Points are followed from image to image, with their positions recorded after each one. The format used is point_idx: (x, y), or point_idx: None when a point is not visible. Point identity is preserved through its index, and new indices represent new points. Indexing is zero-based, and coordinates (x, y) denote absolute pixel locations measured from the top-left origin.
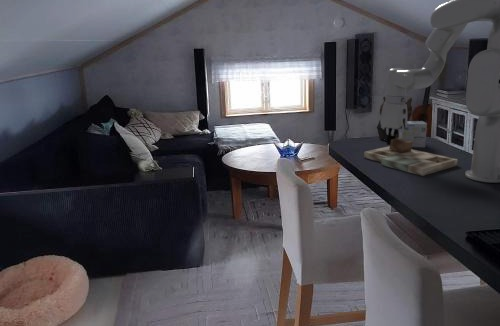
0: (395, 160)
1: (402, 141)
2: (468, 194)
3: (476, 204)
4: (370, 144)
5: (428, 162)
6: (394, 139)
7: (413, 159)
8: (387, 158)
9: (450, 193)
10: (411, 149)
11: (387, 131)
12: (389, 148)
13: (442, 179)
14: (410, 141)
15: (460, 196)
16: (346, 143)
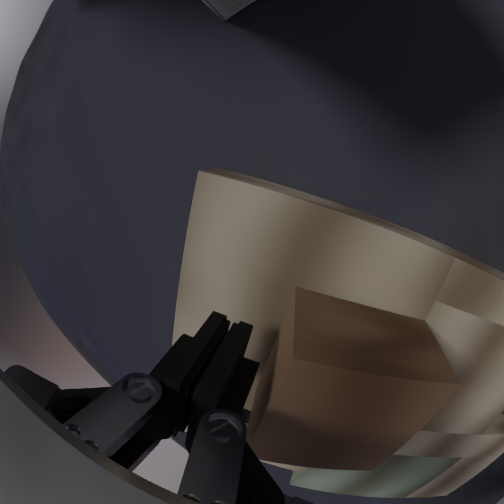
0: (353, 487)
1: (355, 446)
2: (500, 485)
3: (492, 498)
4: (64, 111)
5: (484, 450)
6: (266, 447)
7: (431, 456)
8: (313, 481)
9: (472, 498)
10: (419, 251)
11: (131, 448)
12: (256, 391)
13: (488, 466)
14: (436, 394)
15: (483, 496)
16: (16, 182)
